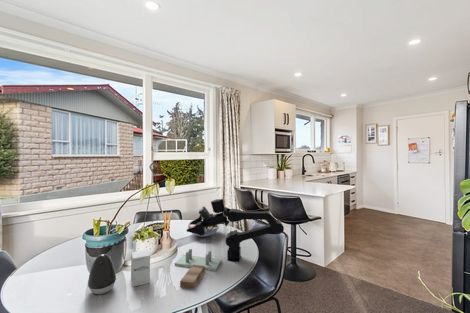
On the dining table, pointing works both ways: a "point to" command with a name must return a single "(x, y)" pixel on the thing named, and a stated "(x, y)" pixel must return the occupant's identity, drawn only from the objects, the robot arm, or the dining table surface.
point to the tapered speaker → (102, 275)
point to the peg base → (198, 261)
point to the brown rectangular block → (192, 276)
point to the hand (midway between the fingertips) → (188, 226)
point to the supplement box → (140, 267)
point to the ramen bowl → (208, 231)
